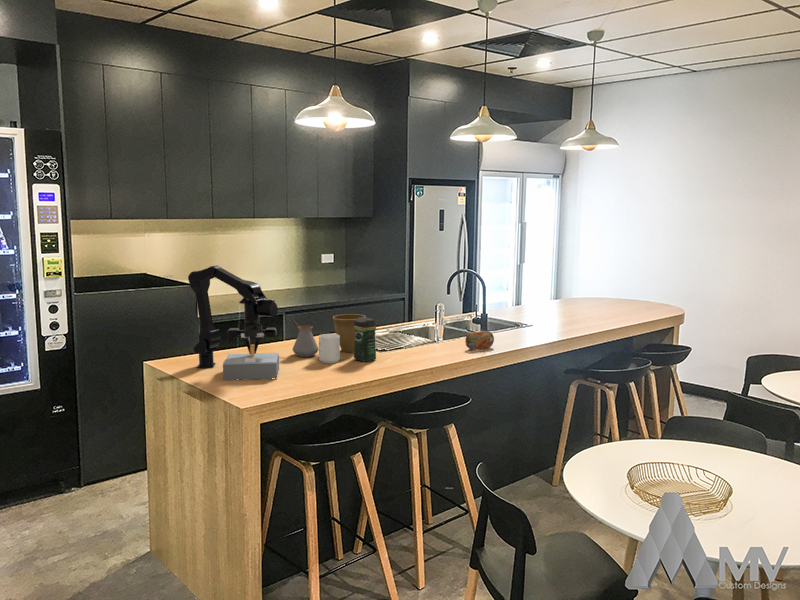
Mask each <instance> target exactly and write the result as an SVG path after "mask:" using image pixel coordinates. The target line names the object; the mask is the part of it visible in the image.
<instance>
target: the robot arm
mask: <svg viewBox="0 0 800 600" xmlns="http://www.w3.org/2000/svg"><path fill="white" fill-rule="evenodd" d="M212 279H216V280H218V281H220V282H222V283H225V284H226V285H227V286H230V287H232V288H233V289H235V290H236V291H237V293H238V294H239V295H240V296H241V297H242V299H241V300H240V301H239V302H238V303H239V304H243V307H244V308H243V309H244V324H243V329H242V330H240V327H230V328H229V329H228V330H227V337H226V338H229V339H230V338H236V337H238V336H240V340H243V342H244V343H245V345H246V347H247V350H248V353H250V346H251V345H252V344H251V338H250V337H252V338H254V339H255V342H254V343H255V344H254V345H255V354H256V353H257V350H258V347H259V344H260V341H261V340H263V339H264V338H265V337H267V338H275V337H277V335H278V332H277V328H276V327H266V329H263V325H262V323H260V317H270V318H271V317H272V318H274V317H276V316H277V314H278V313H279V311H278V310H279V308H278V304H277V303H276V301H275V299H274V298H272V299H268V298H267V296H266V295H265V294H264V291H263V290H262V288H261V285H260V284H259V283H257V282H254V281H252V280H245V279H242V278H241V277H238V276H237V275H235V273H234V274H233V273H232V272H229V270H226V269H224V268H223V267H222V266H220V265H212V266H211V265H210V266H209V267H207V268H205V269H201V270H194V271H191V272H190V273H189V275H188V276H187V280H188V283H189V287H190V288H191V290H192V291H193V293H194V294H195V298H196V299H195V300H196V306H197V311H198V316H199V317H198V319H199V323H200V324H199V325H200V331H199V333H198V342H197V343H196V345H194V347H193V351H194V353H195V354H198V365H197V366H196V368H198V369H199V368H200V369H201V368H202V369H203V368H214V367H215V366H216V363H217V362H214V351H216V350H218V347H219V345H220V344H221V339H222V337H221V330H220V329H216V328H215V326H214V323H213V322H214V321H213V316H212V310H211V303H210V296H209V289H210V285H211V280H212Z"/></svg>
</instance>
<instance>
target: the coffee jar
mask: <svg viewBox="0 0 800 600" xmlns="http://www.w3.org/2000/svg"><path fill="white" fill-rule="evenodd" d="M354 329H355V348H354V352H353V358H354V360H357V361H360V362H374V361H375V360H376V359H377V350H376V349H377V348H376V347H377V346H376V331H377V321H376V320H375V319H374V318H370V317H366V316H365V317H359V318H356V319H355V321H354Z"/></svg>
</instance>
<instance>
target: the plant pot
mask: <svg viewBox="0 0 800 600" xmlns="http://www.w3.org/2000/svg"><path fill="white" fill-rule="evenodd" d="M359 317H366V315H364V314H359V313H358V314H356V313H345V314H336V315H333V316H332V320H333V326H334V327H333V328H334V330H335V334H337V335H339V336H340V351H342V352H343V353H354V348H355V329H354V321H355V319H356V318H359Z"/></svg>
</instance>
